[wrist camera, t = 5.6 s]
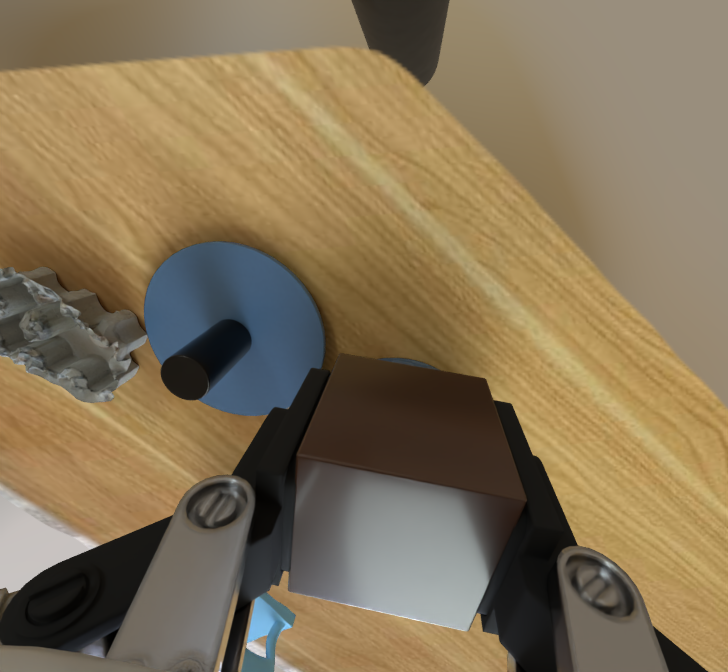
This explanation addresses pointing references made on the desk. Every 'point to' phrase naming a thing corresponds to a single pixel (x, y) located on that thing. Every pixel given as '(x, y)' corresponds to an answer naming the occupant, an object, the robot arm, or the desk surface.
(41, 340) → the egg carton
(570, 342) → the desk surface
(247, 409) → the tin lid
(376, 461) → the block
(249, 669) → the chair
